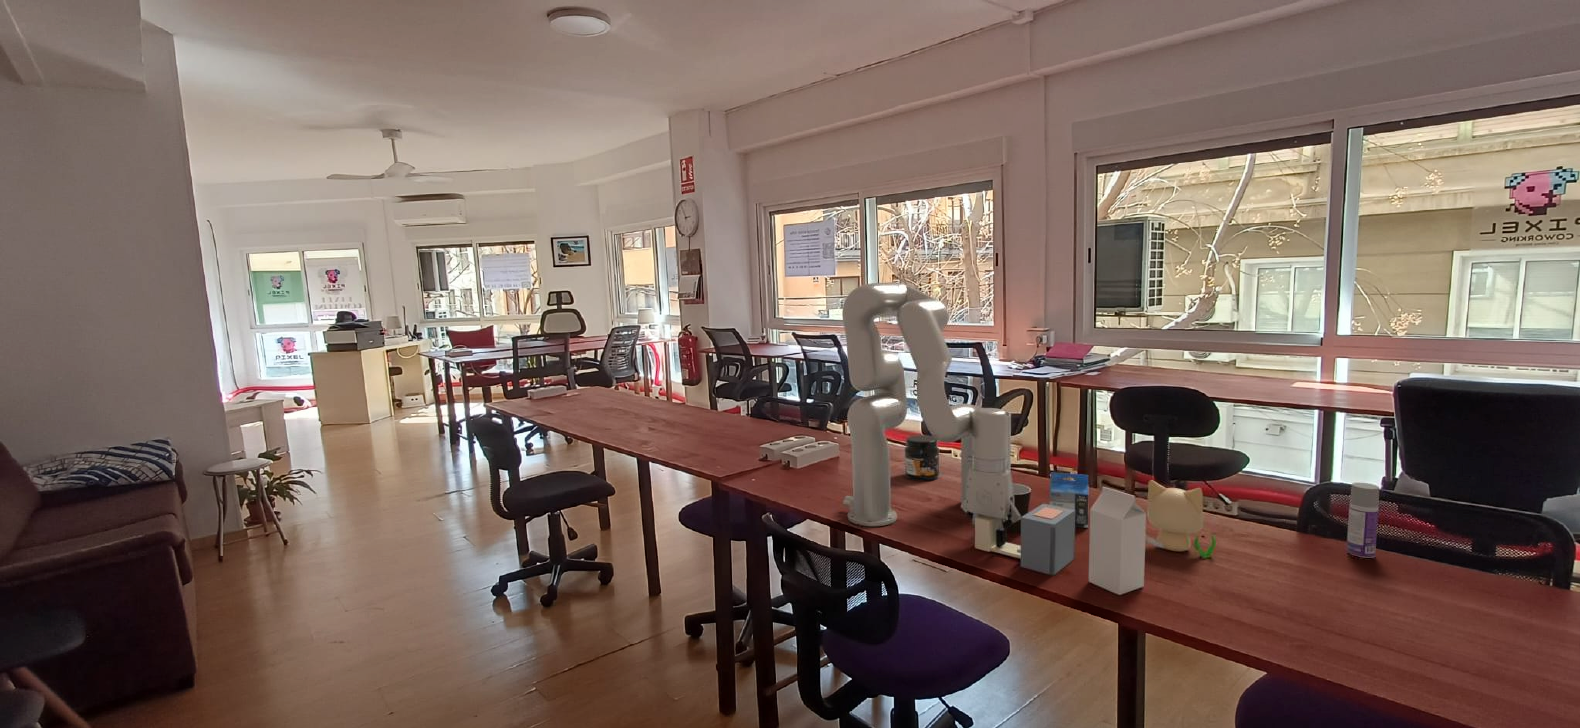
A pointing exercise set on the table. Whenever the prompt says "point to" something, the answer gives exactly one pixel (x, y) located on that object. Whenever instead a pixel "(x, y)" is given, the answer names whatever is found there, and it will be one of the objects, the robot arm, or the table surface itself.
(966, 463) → the cylinder vase
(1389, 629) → the table surface
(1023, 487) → the coffee mug
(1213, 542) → the kitten
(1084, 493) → the label tape box
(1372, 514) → the container
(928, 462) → the supplement container
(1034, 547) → the block
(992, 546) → the cream l-shaped bracket
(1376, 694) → the table surface
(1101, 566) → the milk carton
